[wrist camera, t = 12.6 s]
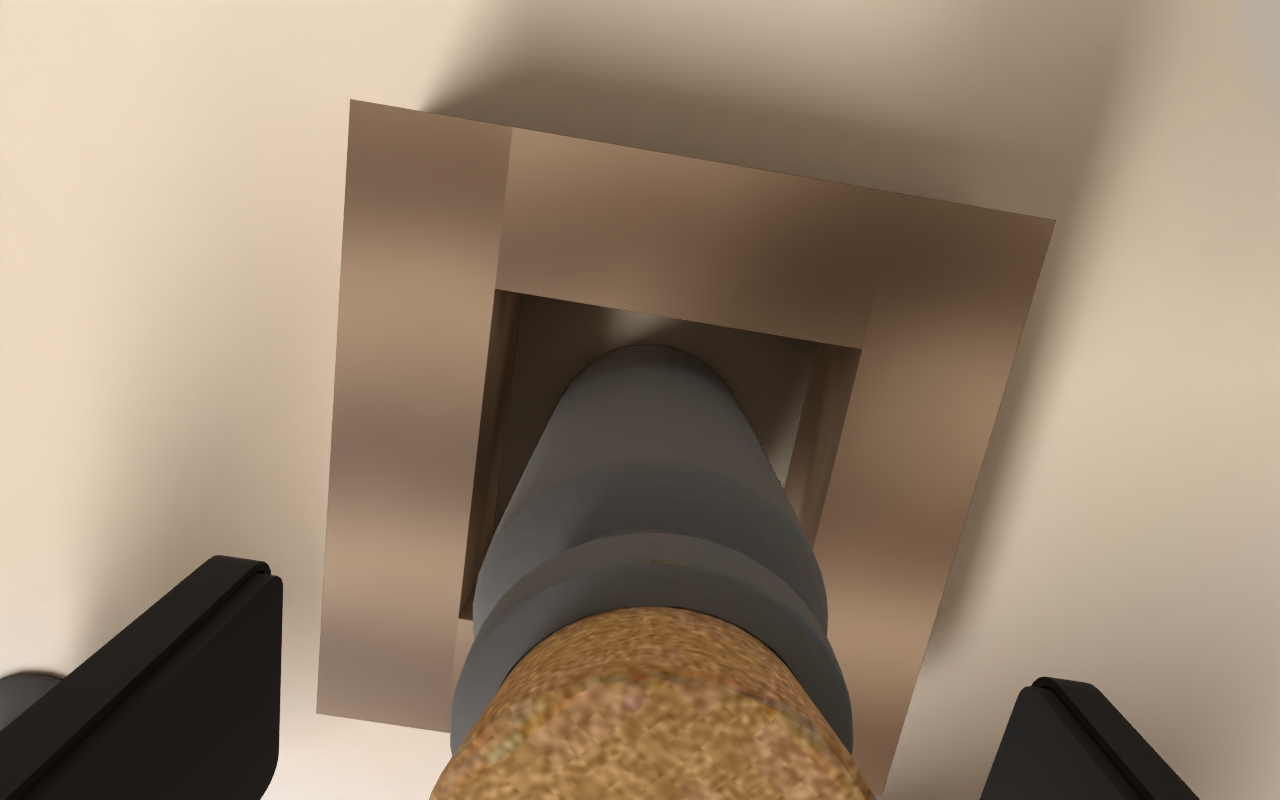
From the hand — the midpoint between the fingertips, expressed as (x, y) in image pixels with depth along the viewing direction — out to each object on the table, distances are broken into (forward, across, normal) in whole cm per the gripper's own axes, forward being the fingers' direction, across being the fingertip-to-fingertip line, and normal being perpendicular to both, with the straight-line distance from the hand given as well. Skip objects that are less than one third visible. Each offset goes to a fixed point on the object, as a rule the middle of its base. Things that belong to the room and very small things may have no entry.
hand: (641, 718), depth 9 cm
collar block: (+13, 0, +1) cm, 13 cm away
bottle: (+13, 0, +1) cm, 13 cm away
